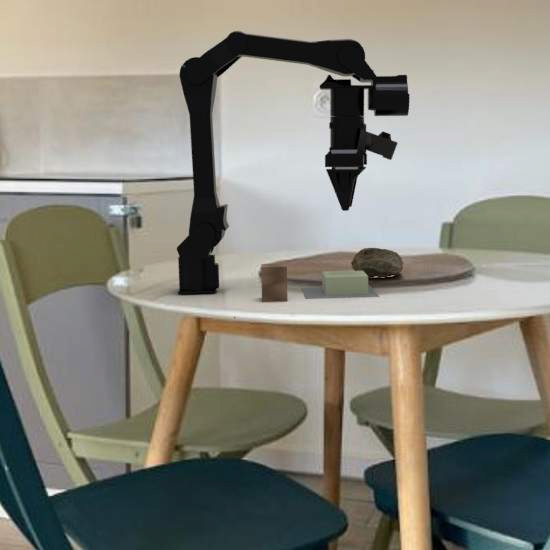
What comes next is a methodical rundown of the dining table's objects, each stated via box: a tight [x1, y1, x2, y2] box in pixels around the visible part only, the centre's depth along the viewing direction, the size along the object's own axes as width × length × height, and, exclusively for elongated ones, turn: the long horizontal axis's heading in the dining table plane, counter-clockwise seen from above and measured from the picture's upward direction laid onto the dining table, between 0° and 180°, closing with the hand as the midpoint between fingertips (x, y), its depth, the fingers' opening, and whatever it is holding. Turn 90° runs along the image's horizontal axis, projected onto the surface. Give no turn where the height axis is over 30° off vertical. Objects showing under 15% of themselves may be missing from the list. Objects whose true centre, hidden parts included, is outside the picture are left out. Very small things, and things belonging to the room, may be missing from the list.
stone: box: [350, 247, 404, 277], centre depth 174 cm, size 13×8×8 cm
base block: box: [321, 270, 369, 295], centre depth 157 cm, size 7×7×3 cm
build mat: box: [300, 284, 380, 300], centre depth 157 cm, size 12×12×1 cm
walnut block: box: [260, 263, 288, 303], centre depth 150 cm, size 4×4×6 cm
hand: (347, 208), depth 160 cm, fingers open, 9 cm apart
